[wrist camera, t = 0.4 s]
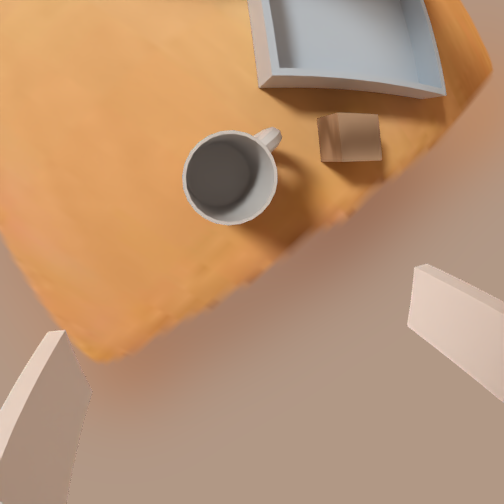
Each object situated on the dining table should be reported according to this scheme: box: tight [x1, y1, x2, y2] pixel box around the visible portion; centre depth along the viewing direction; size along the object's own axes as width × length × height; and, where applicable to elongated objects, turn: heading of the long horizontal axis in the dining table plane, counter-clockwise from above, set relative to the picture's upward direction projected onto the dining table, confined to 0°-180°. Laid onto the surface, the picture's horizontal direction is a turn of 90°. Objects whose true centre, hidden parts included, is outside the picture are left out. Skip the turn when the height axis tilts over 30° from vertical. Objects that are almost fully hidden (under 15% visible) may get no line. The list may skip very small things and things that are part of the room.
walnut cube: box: [317, 113, 382, 162], centre depth 30 cm, size 5×5×5 cm
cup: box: [182, 127, 282, 225], centre depth 26 cm, size 7×10×9 cm
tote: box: [247, 0, 447, 99], centre depth 25 cm, size 20×24×5 cm
